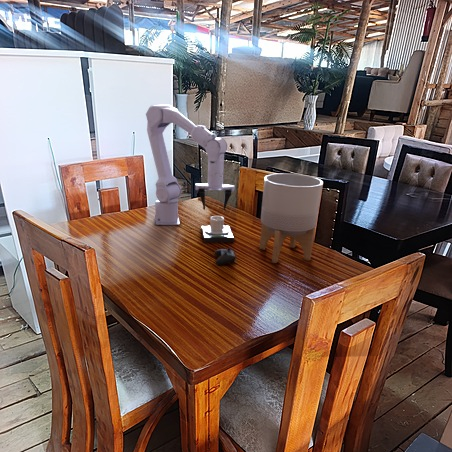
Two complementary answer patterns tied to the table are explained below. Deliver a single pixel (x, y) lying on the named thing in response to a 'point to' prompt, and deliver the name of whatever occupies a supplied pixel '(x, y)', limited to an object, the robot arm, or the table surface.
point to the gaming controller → (225, 256)
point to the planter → (290, 211)
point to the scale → (217, 235)
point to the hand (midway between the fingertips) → (214, 209)
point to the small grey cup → (216, 223)
